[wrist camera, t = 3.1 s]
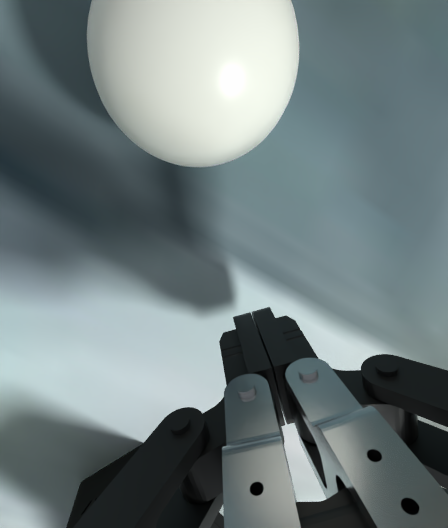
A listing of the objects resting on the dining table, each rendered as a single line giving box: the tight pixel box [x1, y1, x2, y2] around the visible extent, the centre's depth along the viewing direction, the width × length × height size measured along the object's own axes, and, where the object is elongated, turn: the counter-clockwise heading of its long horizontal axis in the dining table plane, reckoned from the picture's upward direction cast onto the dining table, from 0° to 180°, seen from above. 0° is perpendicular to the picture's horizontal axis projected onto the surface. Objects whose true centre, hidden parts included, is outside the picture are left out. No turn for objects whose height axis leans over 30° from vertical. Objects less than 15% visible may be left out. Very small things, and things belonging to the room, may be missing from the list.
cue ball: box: [87, 0, 299, 167], centre depth 9 cm, size 6×6×6 cm
